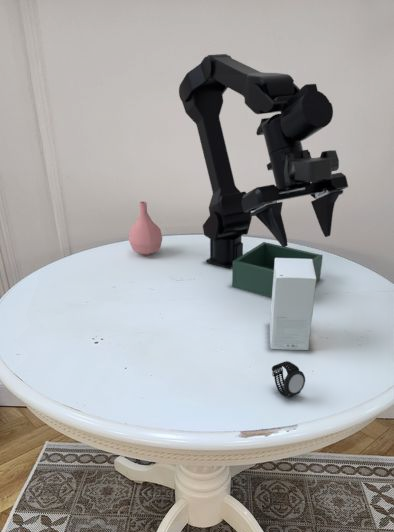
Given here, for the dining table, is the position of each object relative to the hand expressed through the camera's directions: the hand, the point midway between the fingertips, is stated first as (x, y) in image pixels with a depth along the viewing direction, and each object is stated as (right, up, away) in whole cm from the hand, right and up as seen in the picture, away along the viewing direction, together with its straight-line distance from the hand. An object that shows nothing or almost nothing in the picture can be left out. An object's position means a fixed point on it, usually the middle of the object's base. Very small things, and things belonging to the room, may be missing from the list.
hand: (306, 241), depth 92 cm
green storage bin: (-3, -5, +17) cm, 18 cm away
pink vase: (-31, +4, +33) cm, 45 cm away
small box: (-3, -17, -1) cm, 17 cm away
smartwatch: (-6, -25, -14) cm, 29 cm away
